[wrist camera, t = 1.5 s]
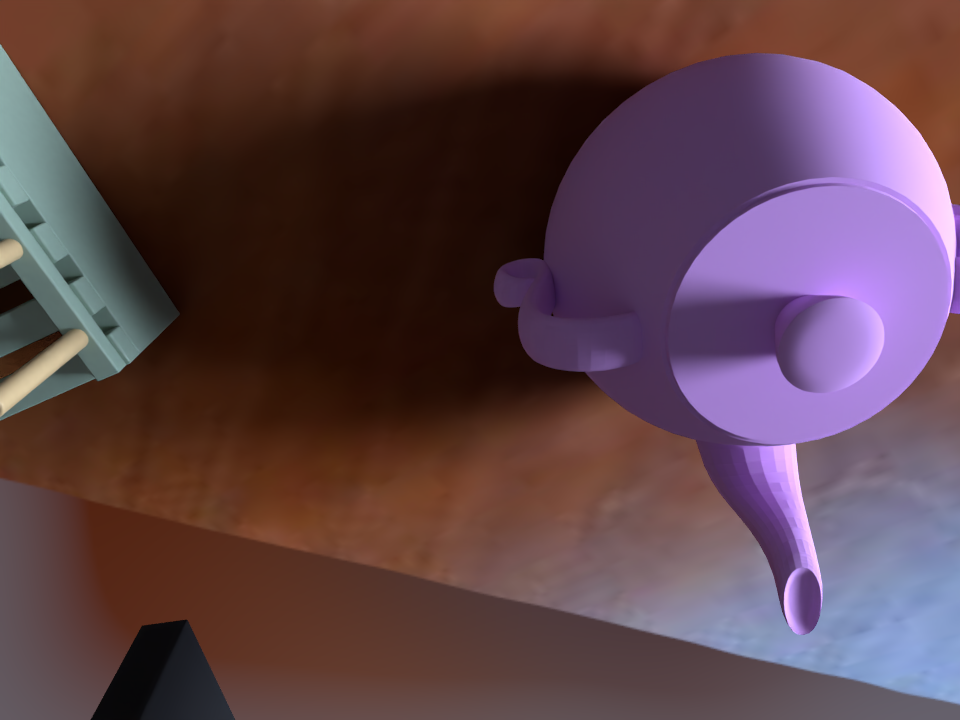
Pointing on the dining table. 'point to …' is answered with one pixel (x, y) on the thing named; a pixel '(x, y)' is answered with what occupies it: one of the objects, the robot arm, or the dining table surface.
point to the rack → (64, 261)
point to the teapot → (748, 275)
